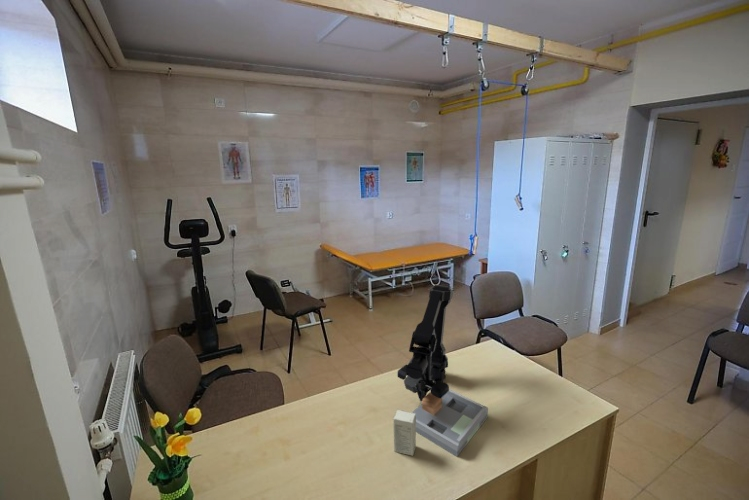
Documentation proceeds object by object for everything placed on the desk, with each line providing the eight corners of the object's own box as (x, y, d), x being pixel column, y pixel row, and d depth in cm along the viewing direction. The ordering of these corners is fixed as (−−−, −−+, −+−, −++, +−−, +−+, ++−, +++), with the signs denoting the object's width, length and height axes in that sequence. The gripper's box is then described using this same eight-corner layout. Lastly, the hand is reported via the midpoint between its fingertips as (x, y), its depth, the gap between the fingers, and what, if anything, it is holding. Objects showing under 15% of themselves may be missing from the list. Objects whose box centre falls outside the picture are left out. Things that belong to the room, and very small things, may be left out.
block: (421, 408, 123) (422, 399, 122) (429, 401, 127) (430, 392, 126) (434, 415, 120) (434, 405, 119) (441, 407, 123) (442, 398, 122)
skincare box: (416, 445, 110) (417, 413, 106) (412, 456, 106) (413, 423, 102) (396, 440, 112) (397, 408, 108) (392, 451, 108) (393, 418, 104)
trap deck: (404, 424, 118) (404, 412, 117) (437, 393, 134) (438, 381, 133) (456, 456, 105) (457, 443, 104) (487, 417, 121) (488, 405, 120)
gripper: (388, 362, 122) (387, 400, 126) (433, 384, 110) (431, 425, 114) (406, 349, 130) (406, 385, 134) (450, 369, 118) (448, 407, 122)
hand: (421, 400), depth 126 cm, fingers closed
